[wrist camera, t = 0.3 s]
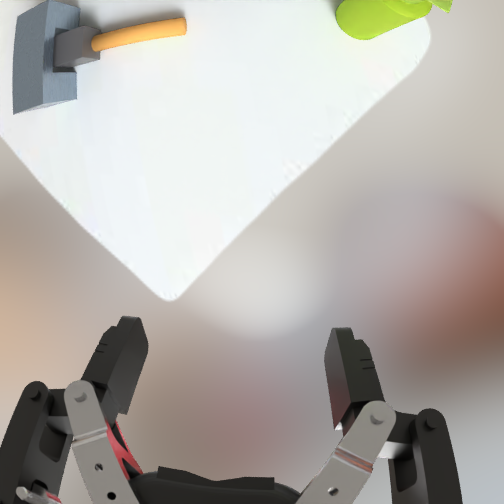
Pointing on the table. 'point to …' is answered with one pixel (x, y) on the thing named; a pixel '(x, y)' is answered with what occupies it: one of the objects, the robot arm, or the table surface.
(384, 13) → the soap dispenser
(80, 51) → the hammer
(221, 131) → the table surface
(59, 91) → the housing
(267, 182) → the table surface
